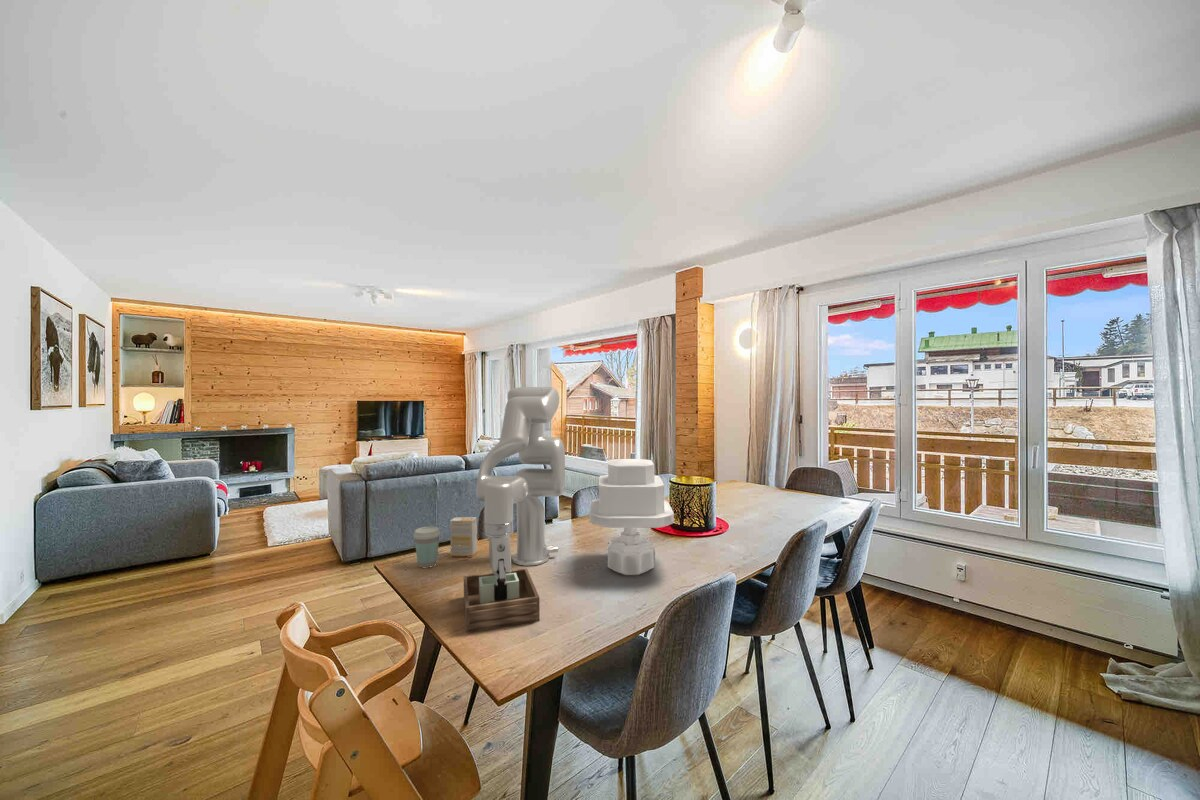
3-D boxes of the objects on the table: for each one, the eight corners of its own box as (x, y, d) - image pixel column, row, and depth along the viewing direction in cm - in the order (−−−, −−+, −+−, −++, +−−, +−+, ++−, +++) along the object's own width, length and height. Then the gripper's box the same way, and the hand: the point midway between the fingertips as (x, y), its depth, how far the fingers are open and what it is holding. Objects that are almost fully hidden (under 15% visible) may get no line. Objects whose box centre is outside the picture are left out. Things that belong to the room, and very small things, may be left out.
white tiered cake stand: (676, 585, 138) (677, 469, 137) (588, 584, 138) (588, 469, 137) (665, 553, 164) (665, 456, 164) (591, 553, 165) (591, 456, 164)
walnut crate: (527, 588, 136) (526, 568, 136) (540, 622, 116) (540, 598, 116) (463, 597, 130) (463, 576, 130) (466, 634, 110) (465, 609, 110)
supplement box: (477, 552, 166) (477, 516, 165) (472, 557, 161) (472, 520, 161) (455, 552, 166) (455, 516, 166) (450, 556, 162) (449, 520, 161)
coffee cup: (446, 562, 157) (445, 527, 157) (429, 571, 149) (428, 534, 149) (425, 559, 160) (425, 524, 159) (407, 568, 152) (407, 532, 151)
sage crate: (516, 590, 128) (516, 572, 127) (519, 599, 122) (519, 581, 122) (479, 595, 124) (478, 577, 124) (480, 605, 119) (480, 586, 119)
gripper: (517, 536, 116) (517, 606, 116) (509, 518, 132) (509, 580, 133) (487, 539, 114) (487, 611, 114) (482, 520, 130) (482, 583, 130)
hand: (499, 593), depth 123 cm, fingers closed on sage crate, 6 cm apart
